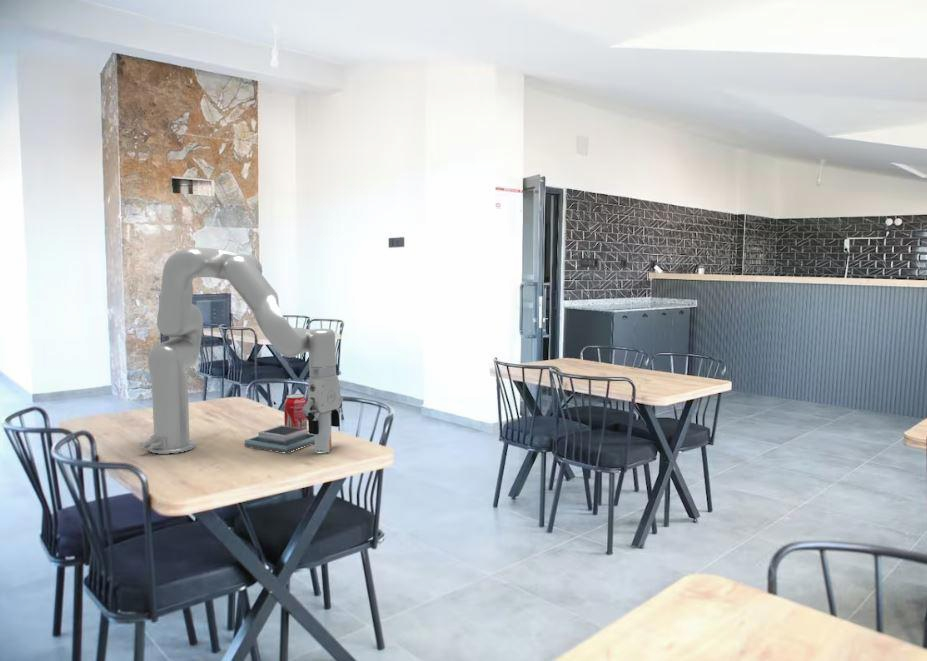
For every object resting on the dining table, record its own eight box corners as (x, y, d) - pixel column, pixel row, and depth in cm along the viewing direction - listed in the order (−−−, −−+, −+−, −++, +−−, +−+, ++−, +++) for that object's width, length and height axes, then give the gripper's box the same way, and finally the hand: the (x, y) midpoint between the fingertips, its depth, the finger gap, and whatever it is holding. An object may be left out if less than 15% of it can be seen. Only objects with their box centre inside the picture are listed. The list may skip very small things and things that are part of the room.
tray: (287, 453, 192) (286, 439, 192) (244, 446, 199) (244, 432, 199) (320, 441, 206) (320, 428, 205) (279, 435, 213) (279, 422, 212)
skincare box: (329, 453, 193) (329, 412, 192) (314, 453, 193) (313, 412, 192) (331, 447, 199) (331, 408, 198) (317, 448, 199) (316, 408, 198)
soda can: (287, 429, 220) (287, 393, 219) (309, 429, 220) (308, 393, 219) (282, 435, 213) (281, 397, 212) (304, 435, 213) (304, 397, 212)
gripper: (314, 377, 184) (315, 438, 186) (351, 368, 200) (352, 424, 202) (292, 375, 188) (294, 435, 189) (330, 366, 203) (332, 422, 205)
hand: (324, 429), depth 195 cm, fingers open, 9 cm apart
